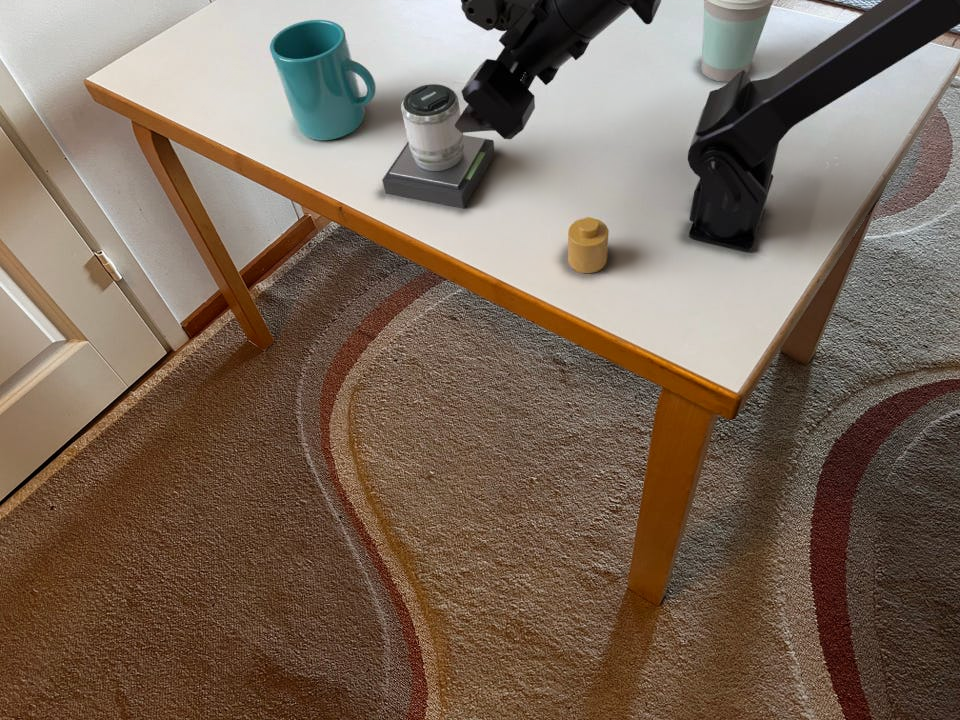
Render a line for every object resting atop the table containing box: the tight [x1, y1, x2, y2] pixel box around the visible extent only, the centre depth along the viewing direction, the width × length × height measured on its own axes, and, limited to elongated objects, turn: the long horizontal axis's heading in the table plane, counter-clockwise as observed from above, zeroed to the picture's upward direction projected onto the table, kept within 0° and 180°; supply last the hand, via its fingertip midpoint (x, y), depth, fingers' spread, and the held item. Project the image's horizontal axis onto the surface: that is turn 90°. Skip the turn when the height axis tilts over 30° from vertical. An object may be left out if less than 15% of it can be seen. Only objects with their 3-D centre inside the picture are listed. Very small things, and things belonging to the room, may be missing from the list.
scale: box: [381, 134, 496, 209], centre depth 84 cm, size 10×10×3 cm
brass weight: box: [567, 216, 610, 274], centre depth 73 cm, size 4×4×5 cm
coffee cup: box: [700, 0, 774, 83], centre depth 87 cm, size 8×8×12 cm
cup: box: [269, 19, 377, 141], centre depth 88 cm, size 9×12×11 cm
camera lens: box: [400, 84, 464, 171], centre depth 80 cm, size 6×6×8 cm
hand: (475, 102), depth 75 cm, fingers open, 9 cm apart
